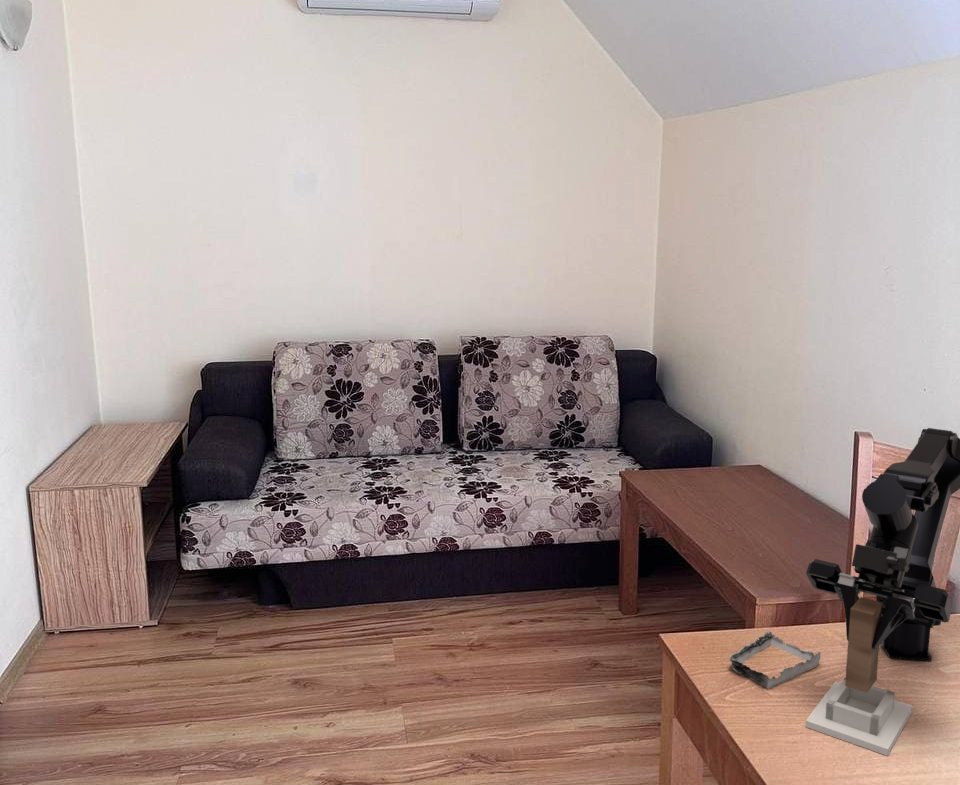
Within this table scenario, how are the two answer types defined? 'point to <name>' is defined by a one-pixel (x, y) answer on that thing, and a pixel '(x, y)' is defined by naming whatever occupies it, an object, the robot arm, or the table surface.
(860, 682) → the walnut block
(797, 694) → the table surface
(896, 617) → the robot arm
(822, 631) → the table surface
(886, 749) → the white recessed tray
